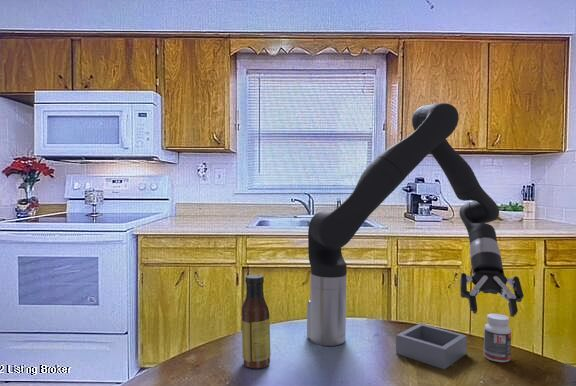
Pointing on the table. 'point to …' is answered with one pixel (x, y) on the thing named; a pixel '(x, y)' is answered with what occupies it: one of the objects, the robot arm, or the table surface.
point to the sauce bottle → (255, 325)
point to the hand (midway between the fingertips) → (494, 313)
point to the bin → (431, 345)
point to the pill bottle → (497, 338)
